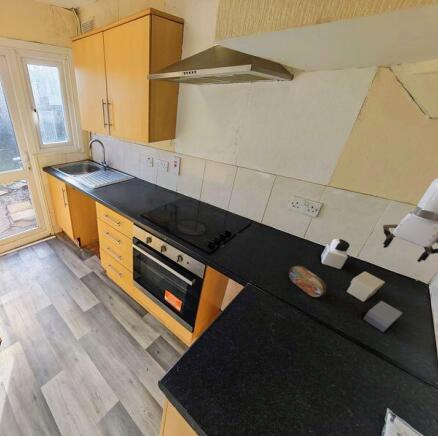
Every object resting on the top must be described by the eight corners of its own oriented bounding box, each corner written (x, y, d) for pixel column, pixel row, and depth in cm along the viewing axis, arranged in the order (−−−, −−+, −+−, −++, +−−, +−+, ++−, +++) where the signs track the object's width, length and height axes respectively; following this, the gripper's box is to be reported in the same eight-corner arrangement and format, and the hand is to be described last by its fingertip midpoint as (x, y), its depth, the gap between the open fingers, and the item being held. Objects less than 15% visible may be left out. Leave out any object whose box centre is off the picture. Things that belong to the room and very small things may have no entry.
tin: (285, 276, 104) (292, 262, 100) (290, 275, 105) (297, 261, 101) (317, 301, 92) (325, 286, 88) (322, 299, 93) (331, 284, 89)
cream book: (381, 286, 94) (385, 281, 93) (370, 294, 90) (373, 289, 89) (361, 275, 100) (364, 271, 98) (350, 282, 95) (353, 278, 94)
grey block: (395, 321, 85) (402, 312, 83) (383, 332, 81) (390, 323, 78) (374, 308, 90) (381, 300, 87) (362, 318, 86) (369, 310, 83)
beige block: (374, 293, 97) (380, 285, 94) (363, 301, 93) (369, 293, 90) (357, 283, 102) (363, 276, 99) (346, 291, 97) (351, 283, 95)
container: (338, 261, 115) (350, 240, 109) (340, 269, 110) (353, 248, 103) (320, 255, 119) (331, 235, 113) (321, 263, 113) (332, 242, 107)
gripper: (471, 222, 73) (438, 263, 81) (400, 202, 86) (377, 239, 94) (465, 228, 70) (430, 270, 78) (392, 206, 83) (369, 244, 91)
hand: (401, 253), depth 86 cm, fingers open, 9 cm apart
